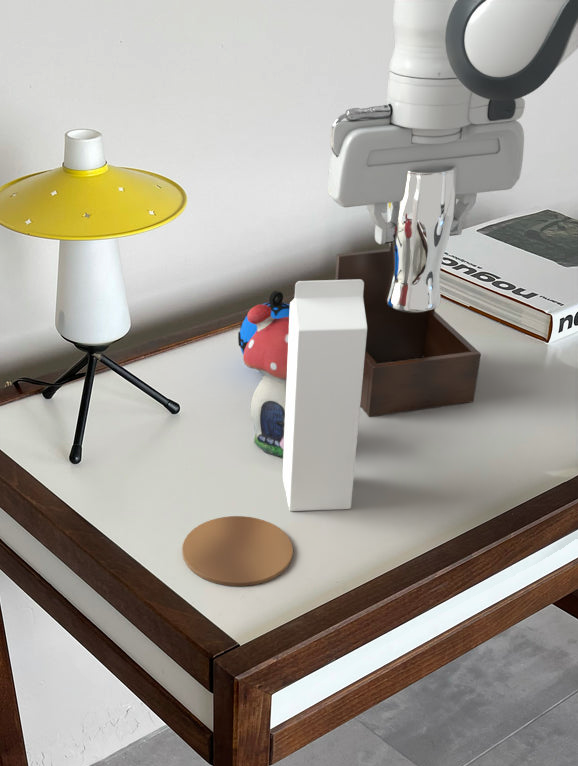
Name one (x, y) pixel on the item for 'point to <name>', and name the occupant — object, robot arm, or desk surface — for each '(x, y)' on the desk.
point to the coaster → (237, 551)
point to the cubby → (406, 347)
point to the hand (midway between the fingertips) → (418, 238)
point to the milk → (323, 393)
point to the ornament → (277, 312)
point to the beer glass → (420, 239)
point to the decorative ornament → (268, 377)
